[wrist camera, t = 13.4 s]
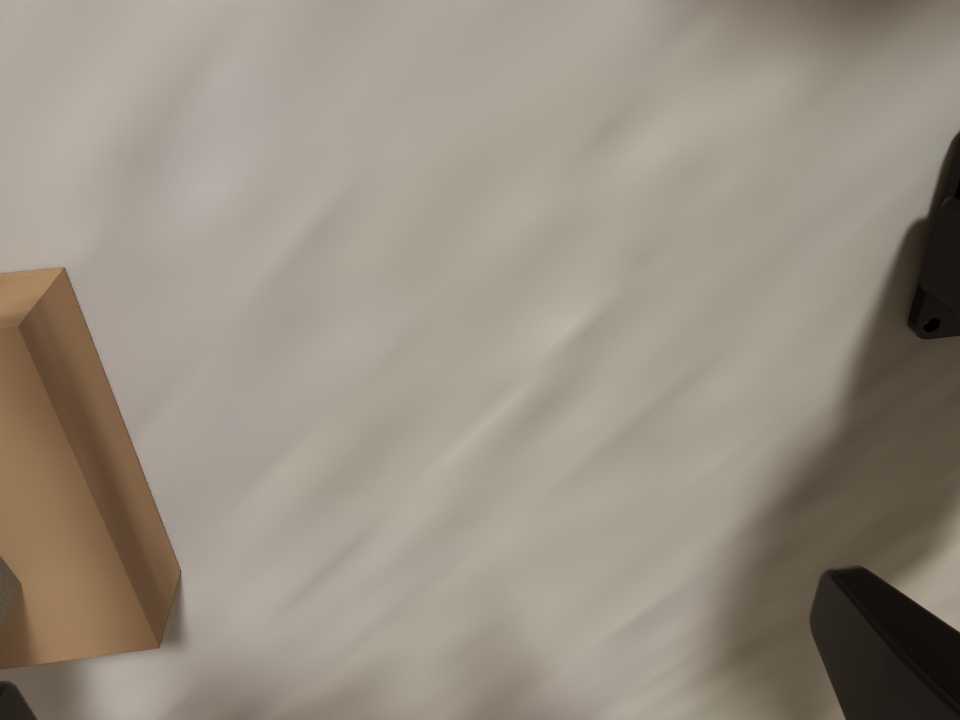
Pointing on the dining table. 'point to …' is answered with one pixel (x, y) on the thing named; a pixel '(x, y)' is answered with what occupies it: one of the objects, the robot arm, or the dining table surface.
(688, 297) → the dining table surface
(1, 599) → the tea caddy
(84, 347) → the tan wooden flat block
